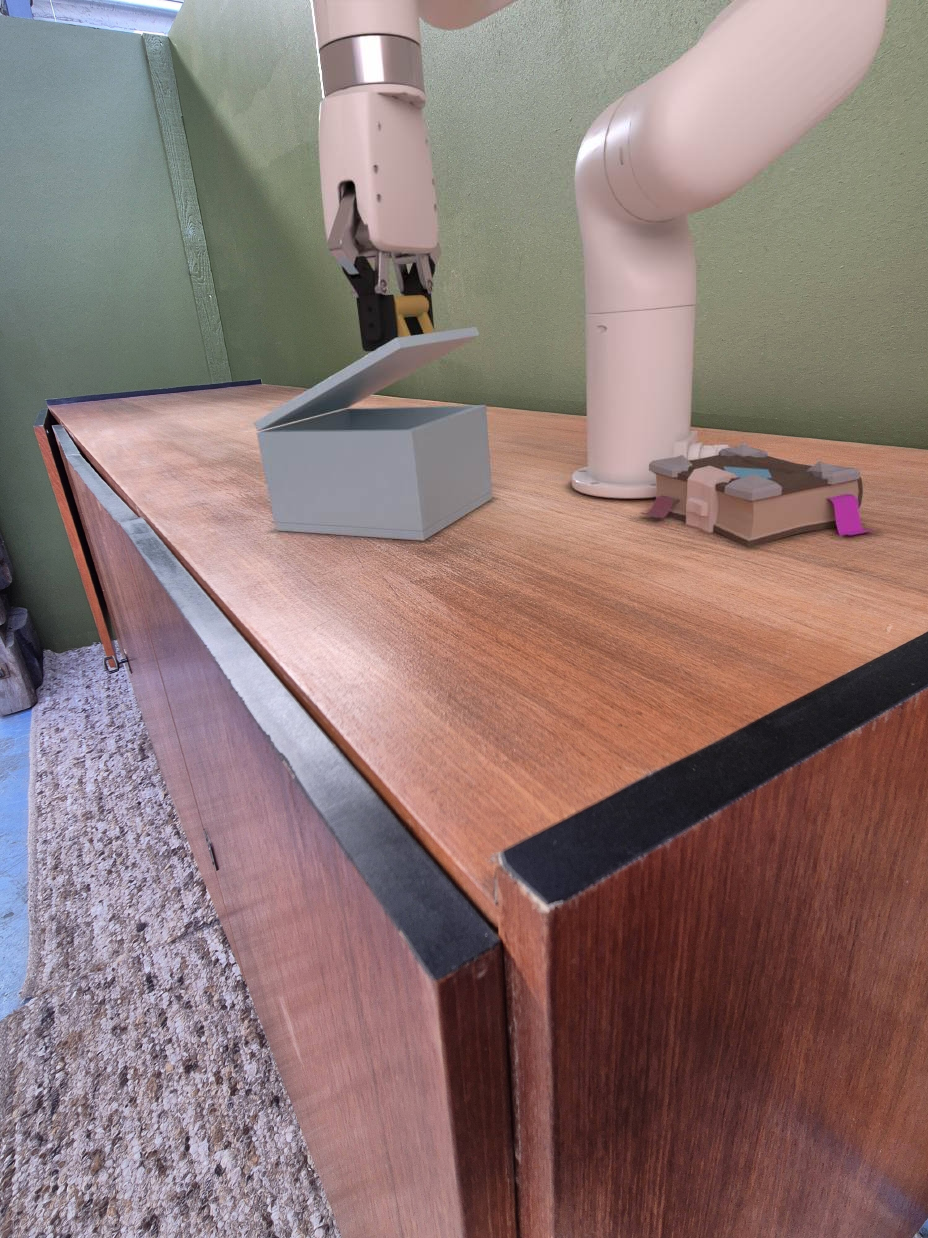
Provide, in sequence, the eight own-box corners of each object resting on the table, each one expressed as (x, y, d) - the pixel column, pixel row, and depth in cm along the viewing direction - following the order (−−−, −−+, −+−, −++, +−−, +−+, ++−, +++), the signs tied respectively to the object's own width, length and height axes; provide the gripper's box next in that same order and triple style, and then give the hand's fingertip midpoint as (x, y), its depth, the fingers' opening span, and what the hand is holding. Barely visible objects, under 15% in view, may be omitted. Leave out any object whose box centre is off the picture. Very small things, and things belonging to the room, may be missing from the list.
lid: (480, 335, 63) (459, 283, 62) (400, 348, 52) (373, 285, 51) (348, 407, 72) (328, 363, 71) (257, 431, 61) (232, 379, 60)
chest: (492, 498, 69) (486, 404, 65) (423, 541, 58) (411, 430, 54) (359, 493, 76) (347, 408, 72) (275, 530, 65) (256, 432, 61)
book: (595, 504, 65) (595, 448, 63) (706, 482, 68) (709, 429, 66) (751, 565, 47) (757, 491, 45) (888, 532, 51) (899, 462, 49)
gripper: (392, 115, 61) (414, 342, 68) (254, 68, 47) (299, 358, 54) (470, 97, 58) (484, 338, 65) (346, 40, 44) (381, 354, 51)
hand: (399, 345), depth 60 cm, fingers closed on lid, 5 cm apart
